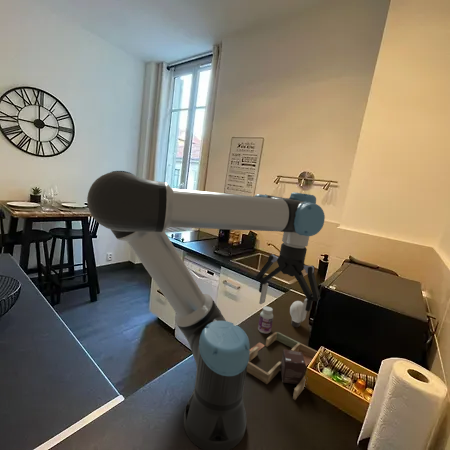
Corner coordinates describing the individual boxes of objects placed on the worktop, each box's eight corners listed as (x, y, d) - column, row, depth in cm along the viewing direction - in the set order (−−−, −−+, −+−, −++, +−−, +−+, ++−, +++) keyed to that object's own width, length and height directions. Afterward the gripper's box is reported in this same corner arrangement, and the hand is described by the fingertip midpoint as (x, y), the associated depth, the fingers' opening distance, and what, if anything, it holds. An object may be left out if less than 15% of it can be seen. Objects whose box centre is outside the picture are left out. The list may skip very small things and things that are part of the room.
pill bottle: (260, 334, 105) (264, 311, 103) (255, 327, 110) (259, 305, 108) (273, 333, 106) (276, 311, 105) (267, 326, 111) (270, 305, 110)
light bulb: (292, 319, 120) (296, 296, 119) (306, 326, 116) (310, 302, 114) (284, 323, 115) (288, 300, 114) (298, 331, 111) (302, 306, 109)
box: (298, 372, 85) (302, 351, 84) (302, 386, 79) (306, 364, 78) (279, 369, 86) (283, 348, 85) (282, 382, 80) (285, 360, 79)
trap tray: (294, 401, 73) (295, 392, 73) (232, 362, 86) (234, 354, 86) (322, 362, 92) (324, 354, 92) (269, 335, 105) (270, 328, 105)
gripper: (340, 254, 75) (325, 323, 78) (263, 234, 89) (252, 293, 92) (334, 258, 69) (318, 332, 72) (252, 236, 83) (241, 299, 86)
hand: (281, 310), depth 82 cm, fingers open, 13 cm apart
